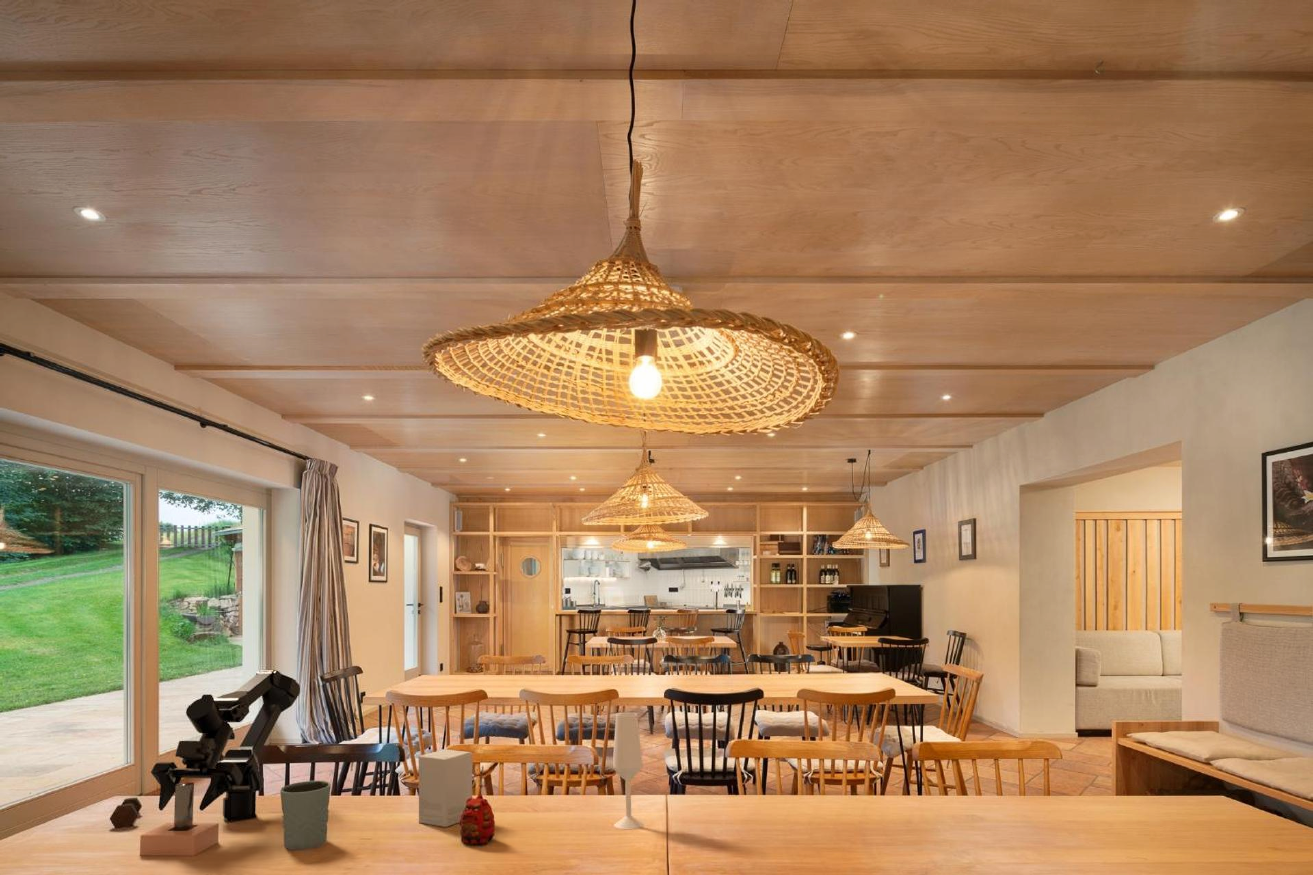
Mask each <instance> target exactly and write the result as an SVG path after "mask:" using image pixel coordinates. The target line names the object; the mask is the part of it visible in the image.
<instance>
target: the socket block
mask: <svg viewBox="0 0 1313 875" xmlns="http://www.w3.org/2000/svg"><path fill="white" fill-rule="evenodd" d="M219 824H220V823H218V822H216V823H215V822H211V823H209V822H208V823H207V822H193V828H192V829H190V830H188V831H174V822H165V823H164V824H162V825H160V826H157V827H156V828H154V829H151V830H149V831H147V832H145V833H142V834H140V839H139V840H140V844H139V845H140V846H139V856H178V857H180V856H182V857H183V856H196V855H198V854H201V853H202V852H203V851H205V850H208V849H209V848H210V847H213V846H214V845H216V844H218V843H219V833H220V832H219V826H220V825H219Z"/></svg>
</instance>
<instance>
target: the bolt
mask: <svg viewBox="0 0 1313 875" xmlns="http://www.w3.org/2000/svg"><path fill="white" fill-rule="evenodd" d="M142 807H143V805H142V804H141V802H140V800H139V798H138V797H129V798H128V797H127V798H124V800H123V801H122V802H121V804H119V805H117V806H116V807H115V809H114V810H113V812H112V813H111V815H110V817H109V820H110V822H111V824H112V825H113V827H114V828H115V829H125V828H124V827H126V828H130V827H131V828H132V826H133V824H134V822H135V821H136V819H137V817H138V816H139V812H140V811H141V809H142Z"/></svg>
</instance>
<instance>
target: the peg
mask: <svg viewBox="0 0 1313 875" xmlns="http://www.w3.org/2000/svg"><path fill="white" fill-rule="evenodd" d="M194 789H195V782H192V781H191V782H190V781H189V782H180V783H179V784H177V785H175V793H174V813H173V814H174V815H173V823H174V831H188V830H190V829H192V828H193V823H194V796H195V794H194V792H195V790H194Z"/></svg>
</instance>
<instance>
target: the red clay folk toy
mask: <svg viewBox="0 0 1313 875" xmlns="http://www.w3.org/2000/svg"><path fill="white" fill-rule="evenodd" d="M481 767H482V768H481V770H480V771H479V773H477V772H473V778H476V777H479V791H478V794H477V796H476V797H474V798H473V797H472V798H469V799H467V802H466V807H465V809H464V810H463V813H462V815H461V819H460V822H459V825H460V830H459V831H460V841H461V843H463V844H471V845H473V846H481V845H482V846H484V845H487V843H489V842H491V841H492V839H493V838H494V836H495V826H496V825H495V824H496V822H495V814H494V813H493V808H492V806H491V805H490V803H489V802H488V799H486V798H484V797H483V794H482V788H483V787H484V786H483V785H484V784H483V783H482V782H483V776H484V775H483V774H484V766H483V765H482V766H481Z"/></svg>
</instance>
